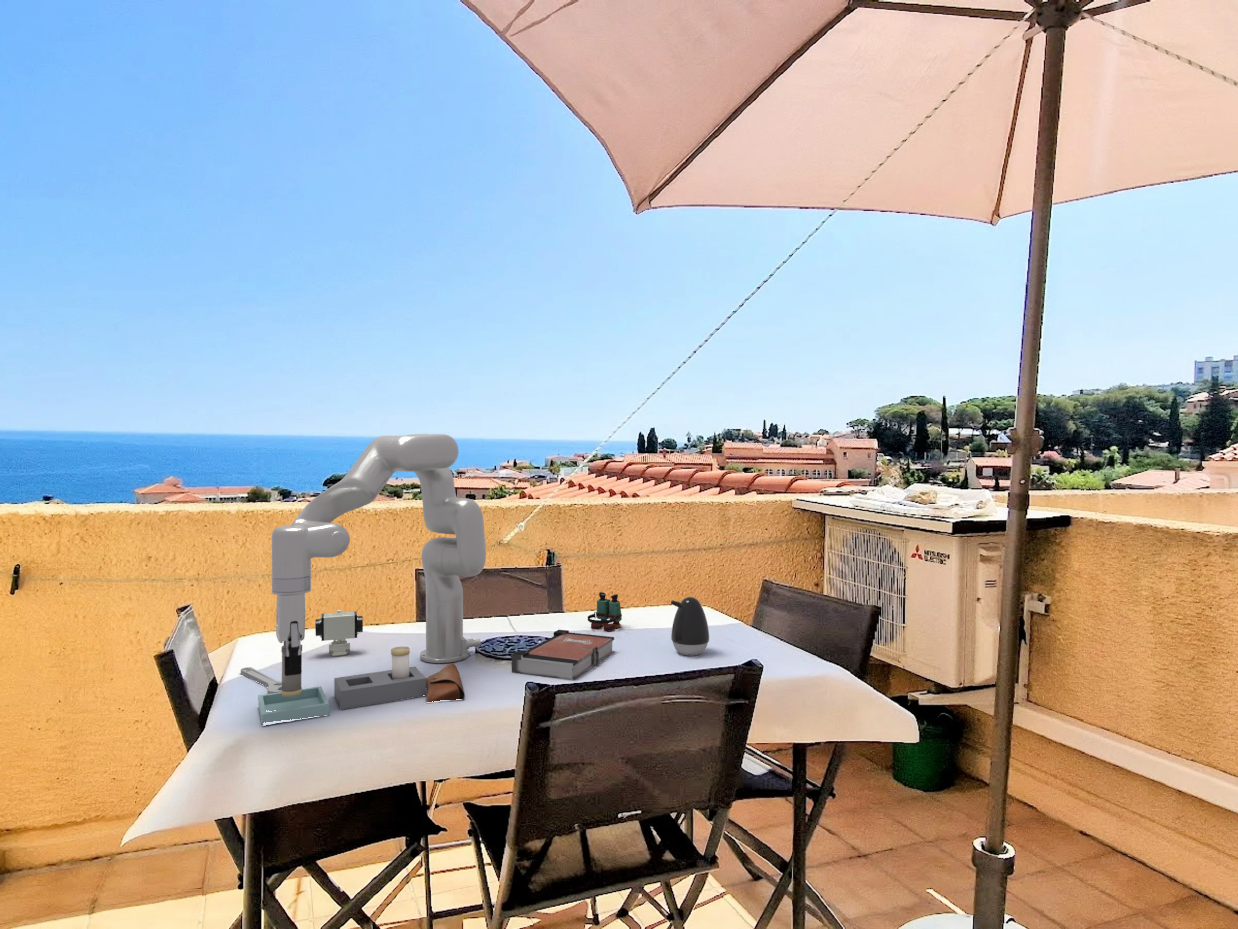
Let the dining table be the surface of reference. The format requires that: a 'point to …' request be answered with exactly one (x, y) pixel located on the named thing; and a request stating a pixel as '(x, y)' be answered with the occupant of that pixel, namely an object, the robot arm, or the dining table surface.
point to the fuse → (400, 662)
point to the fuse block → (377, 688)
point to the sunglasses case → (445, 685)
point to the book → (563, 655)
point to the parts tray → (293, 705)
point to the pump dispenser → (689, 627)
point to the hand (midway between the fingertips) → (292, 670)
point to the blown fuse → (290, 679)
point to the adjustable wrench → (262, 679)
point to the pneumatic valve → (339, 630)
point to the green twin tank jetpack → (606, 613)
